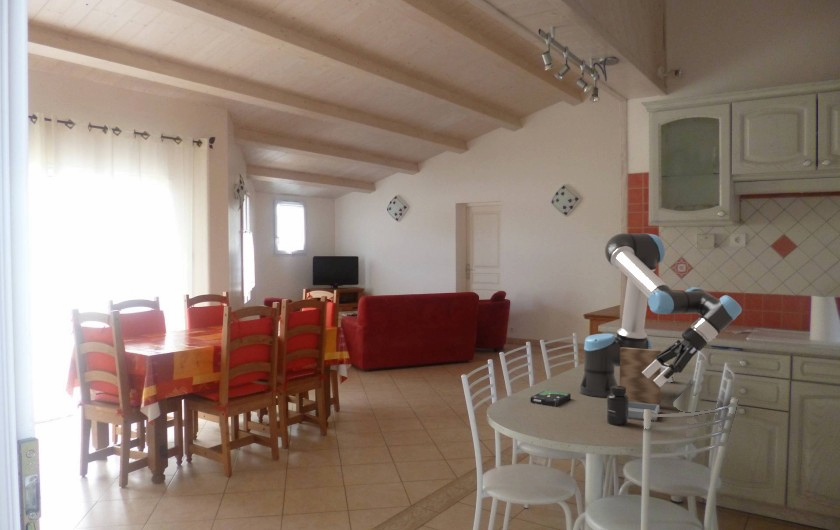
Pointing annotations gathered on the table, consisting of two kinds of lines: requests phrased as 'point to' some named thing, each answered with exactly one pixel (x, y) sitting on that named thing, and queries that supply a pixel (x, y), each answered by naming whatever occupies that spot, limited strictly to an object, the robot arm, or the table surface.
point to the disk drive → (550, 398)
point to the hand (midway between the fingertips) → (650, 379)
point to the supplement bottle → (617, 406)
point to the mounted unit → (639, 375)
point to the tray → (641, 410)
